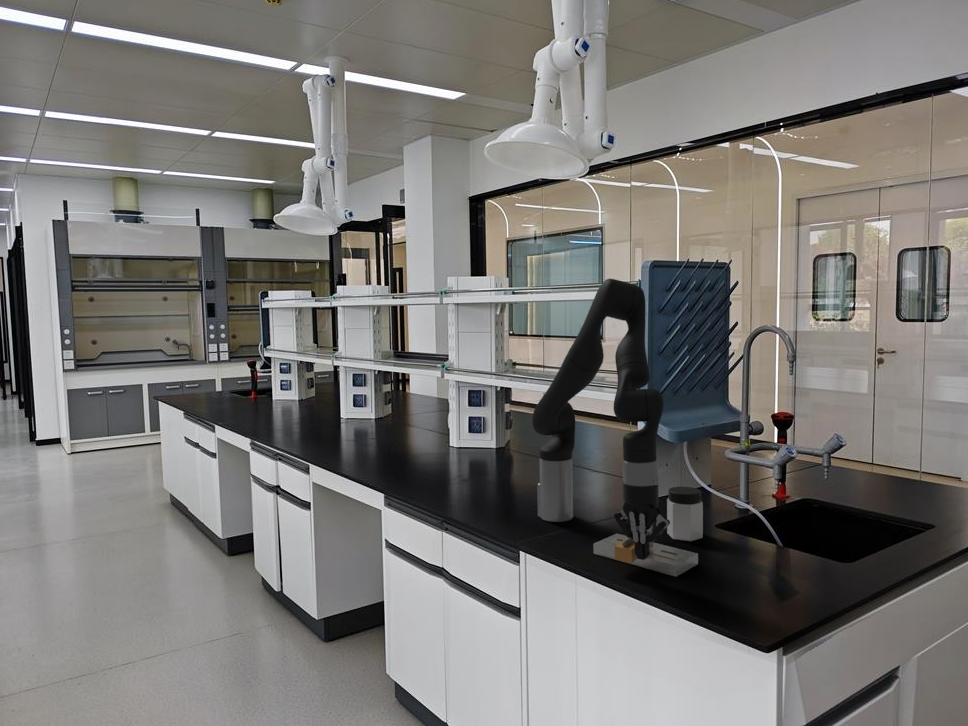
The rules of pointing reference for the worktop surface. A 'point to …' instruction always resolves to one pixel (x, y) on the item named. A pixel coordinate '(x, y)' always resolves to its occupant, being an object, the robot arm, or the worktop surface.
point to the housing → (652, 556)
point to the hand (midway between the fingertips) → (642, 558)
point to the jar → (685, 513)
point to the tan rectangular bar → (627, 550)
